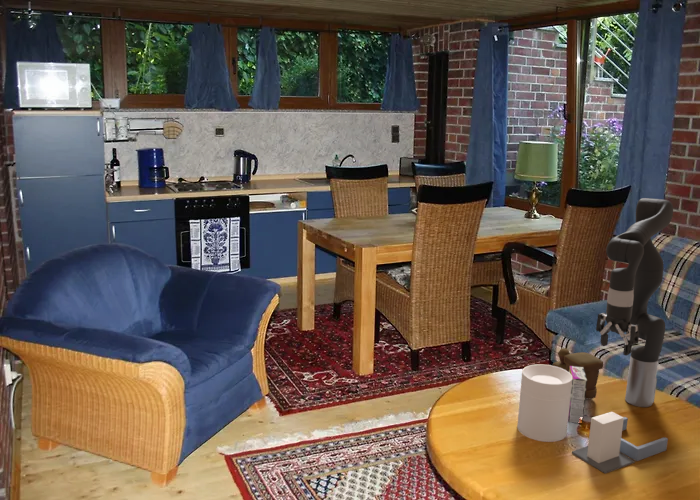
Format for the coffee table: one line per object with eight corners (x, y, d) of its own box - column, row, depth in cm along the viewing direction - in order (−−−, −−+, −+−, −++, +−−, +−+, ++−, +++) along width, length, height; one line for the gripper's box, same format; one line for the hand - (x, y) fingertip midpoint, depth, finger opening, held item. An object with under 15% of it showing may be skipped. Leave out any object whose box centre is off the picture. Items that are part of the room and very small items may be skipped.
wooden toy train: (601, 403, 249) (606, 360, 245) (575, 408, 245) (580, 365, 241) (564, 381, 267) (568, 341, 263) (540, 385, 263) (544, 345, 259)
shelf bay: (623, 427, 232) (624, 416, 231) (666, 450, 218) (667, 438, 217) (594, 437, 225) (595, 426, 224) (636, 461, 211) (638, 449, 210)
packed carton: (587, 456, 212) (591, 417, 209) (607, 449, 217) (611, 411, 213) (598, 463, 208) (603, 424, 205) (618, 455, 213) (623, 417, 210)
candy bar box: (564, 408, 245) (569, 365, 241) (579, 409, 244) (583, 366, 240) (567, 422, 234) (572, 378, 230) (583, 424, 233) (588, 379, 229)
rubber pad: (600, 443, 221) (600, 441, 221) (634, 462, 210) (634, 460, 210) (571, 453, 215) (571, 451, 215) (605, 473, 204) (605, 471, 204)
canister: (569, 424, 233) (575, 369, 228) (562, 446, 219) (568, 388, 214) (522, 414, 240) (527, 361, 235) (512, 434, 225) (517, 378, 221)
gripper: (593, 297, 219) (589, 345, 223) (631, 310, 207) (626, 360, 211) (609, 293, 222) (604, 340, 227) (647, 306, 211) (642, 355, 215)
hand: (615, 350), depth 219 cm, fingers open, 8 cm apart
